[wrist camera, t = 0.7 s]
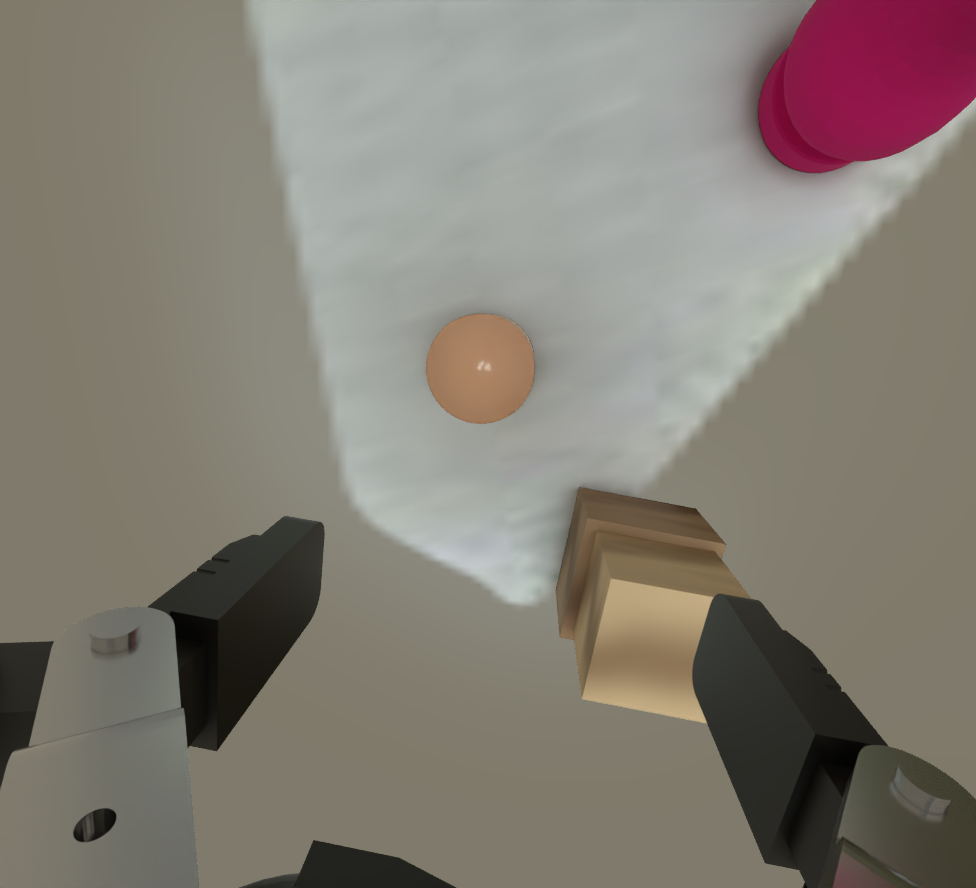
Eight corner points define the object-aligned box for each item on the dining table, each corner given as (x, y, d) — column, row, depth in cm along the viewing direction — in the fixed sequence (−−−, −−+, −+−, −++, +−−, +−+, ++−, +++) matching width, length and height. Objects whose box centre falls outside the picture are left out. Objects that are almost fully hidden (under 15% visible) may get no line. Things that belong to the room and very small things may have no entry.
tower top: (596, 530, 26) (611, 578, 22) (715, 551, 26) (756, 605, 21) (573, 632, 28) (581, 698, 23) (685, 653, 28) (717, 725, 23)
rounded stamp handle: (453, 307, 29) (434, 305, 23) (541, 322, 29) (543, 324, 23) (440, 394, 30) (419, 413, 25) (525, 410, 30) (523, 432, 24)
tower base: (579, 486, 31) (587, 518, 26) (695, 508, 31) (726, 544, 26) (555, 590, 33) (559, 637, 28) (665, 611, 33) (689, 663, 28)
